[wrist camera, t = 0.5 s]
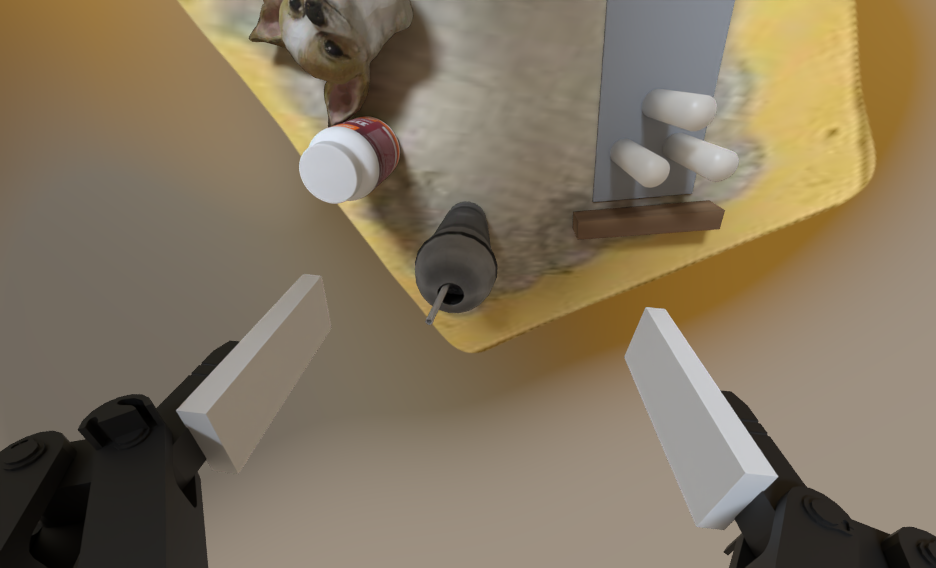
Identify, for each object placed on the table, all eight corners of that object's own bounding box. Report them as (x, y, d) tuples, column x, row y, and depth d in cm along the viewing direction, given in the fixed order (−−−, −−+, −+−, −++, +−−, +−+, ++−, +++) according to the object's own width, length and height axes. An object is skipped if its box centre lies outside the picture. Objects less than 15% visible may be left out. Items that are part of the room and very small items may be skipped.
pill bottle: (379, 103, 34) (334, 116, 25) (412, 161, 37) (382, 193, 28) (331, 133, 36) (272, 156, 27) (365, 186, 39) (323, 224, 30)
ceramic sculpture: (434, 10, 23) (304, 149, 29) (455, 20, 30) (347, 130, 37) (309, -182, 19) (191, 27, 26) (368, -118, 26) (263, 33, 33)
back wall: (573, 211, 38) (578, 221, 36) (709, 200, 37) (724, 210, 34) (572, 228, 40) (577, 239, 37) (704, 218, 38) (719, 229, 35)
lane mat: (619, -182, 24) (620, -183, 24) (781, -218, 22) (783, -220, 22) (592, 201, 38) (593, 202, 38) (691, 192, 36) (692, 193, 36)
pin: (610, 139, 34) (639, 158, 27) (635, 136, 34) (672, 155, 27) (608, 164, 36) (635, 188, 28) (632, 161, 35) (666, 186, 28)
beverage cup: (467, 260, 43) (445, 385, 26) (422, 219, 40) (367, 329, 24) (511, 221, 40) (520, 336, 23) (466, 175, 37) (437, 264, 20)
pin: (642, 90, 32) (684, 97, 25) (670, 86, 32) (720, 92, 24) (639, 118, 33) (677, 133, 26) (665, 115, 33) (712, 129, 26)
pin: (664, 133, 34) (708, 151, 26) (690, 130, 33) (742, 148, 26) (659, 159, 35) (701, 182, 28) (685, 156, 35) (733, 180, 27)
